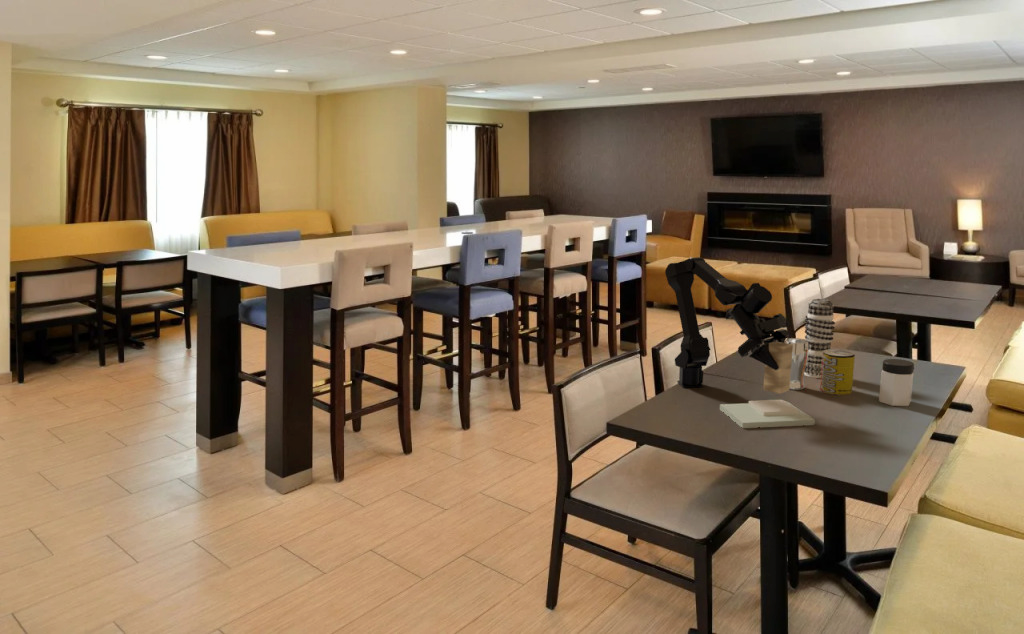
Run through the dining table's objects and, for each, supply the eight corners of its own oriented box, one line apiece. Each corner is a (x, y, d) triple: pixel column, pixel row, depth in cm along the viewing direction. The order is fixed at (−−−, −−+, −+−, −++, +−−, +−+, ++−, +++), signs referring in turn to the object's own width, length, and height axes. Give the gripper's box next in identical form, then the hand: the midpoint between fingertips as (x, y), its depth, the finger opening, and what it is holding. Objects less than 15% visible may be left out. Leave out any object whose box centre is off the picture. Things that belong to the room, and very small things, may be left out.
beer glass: (807, 391, 236) (811, 343, 233) (783, 390, 238) (786, 342, 235) (803, 384, 243) (807, 338, 240) (780, 383, 244) (783, 337, 241)
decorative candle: (795, 373, 256) (800, 299, 251) (813, 369, 261) (819, 296, 256) (818, 379, 248) (823, 303, 244) (837, 375, 253) (843, 300, 248)
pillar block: (763, 389, 215) (766, 344, 212) (772, 386, 218) (776, 341, 215) (779, 393, 211) (783, 347, 208) (789, 390, 214) (792, 344, 212)
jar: (918, 404, 223) (922, 364, 221) (898, 408, 220) (902, 367, 217) (891, 396, 231) (894, 357, 229) (872, 399, 227) (875, 360, 225)
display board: (742, 428, 204) (742, 419, 203) (719, 409, 219) (720, 401, 219) (814, 425, 206) (815, 416, 206) (786, 406, 222) (787, 398, 221)
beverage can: (823, 385, 243) (826, 347, 241) (854, 389, 238) (857, 351, 236) (816, 392, 236) (819, 353, 233) (848, 396, 231) (851, 357, 228)
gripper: (750, 309, 207) (785, 356, 201) (785, 300, 219) (820, 345, 213) (723, 333, 214) (756, 380, 208) (759, 323, 226) (791, 367, 220)
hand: (782, 367), depth 212 cm, fingers closed on pillar block, 5 cm apart
